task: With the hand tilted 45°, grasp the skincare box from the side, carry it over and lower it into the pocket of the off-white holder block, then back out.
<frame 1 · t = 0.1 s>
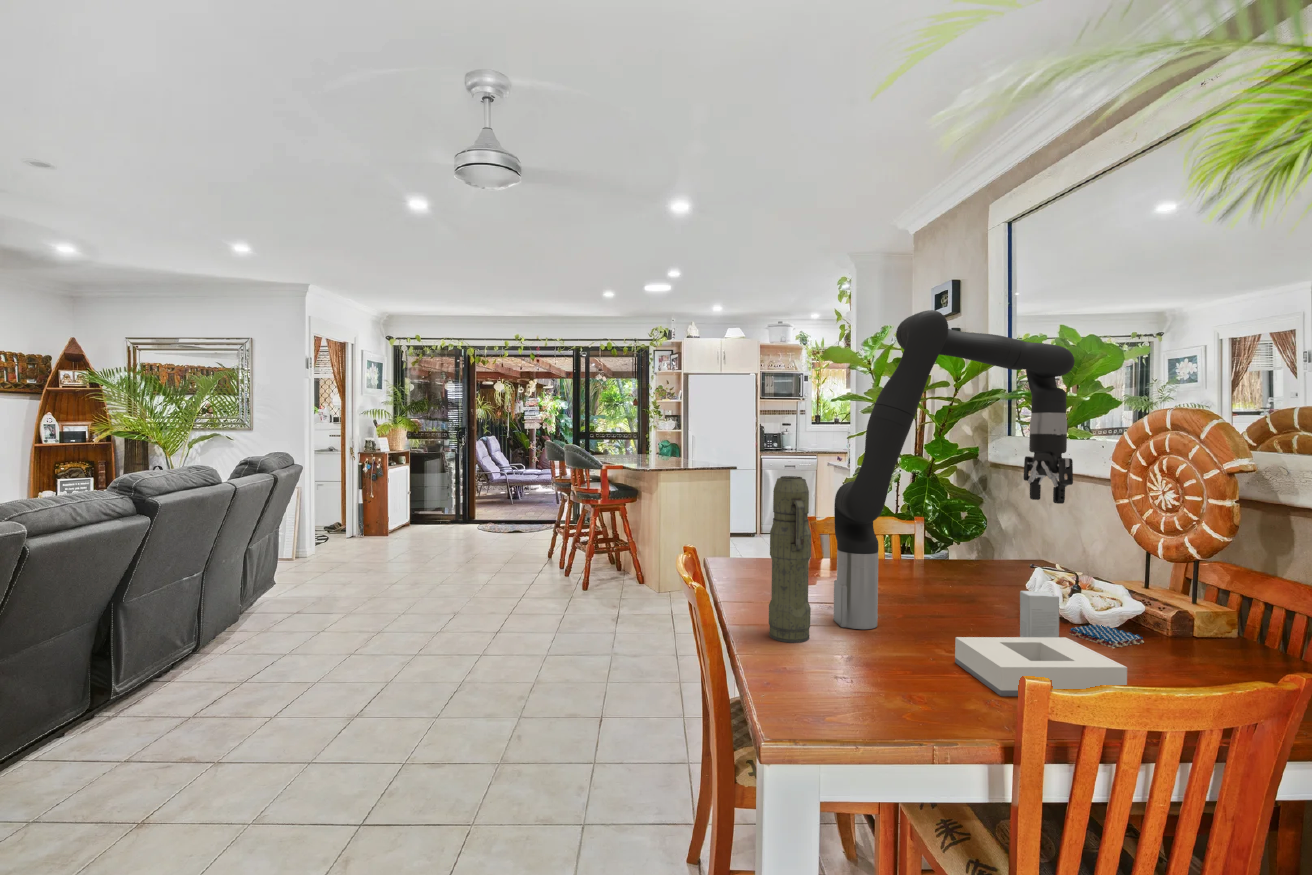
hand: (1046, 501, 152), 29 cm above the table, tool pointing down, fingers open, 8 cm apart
woven mat: (1105, 641, 143), on the table
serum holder: (1035, 678, 119), on the table
skincare box: (1038, 651, 134), on the table
thermos: (789, 637, 142), on the table
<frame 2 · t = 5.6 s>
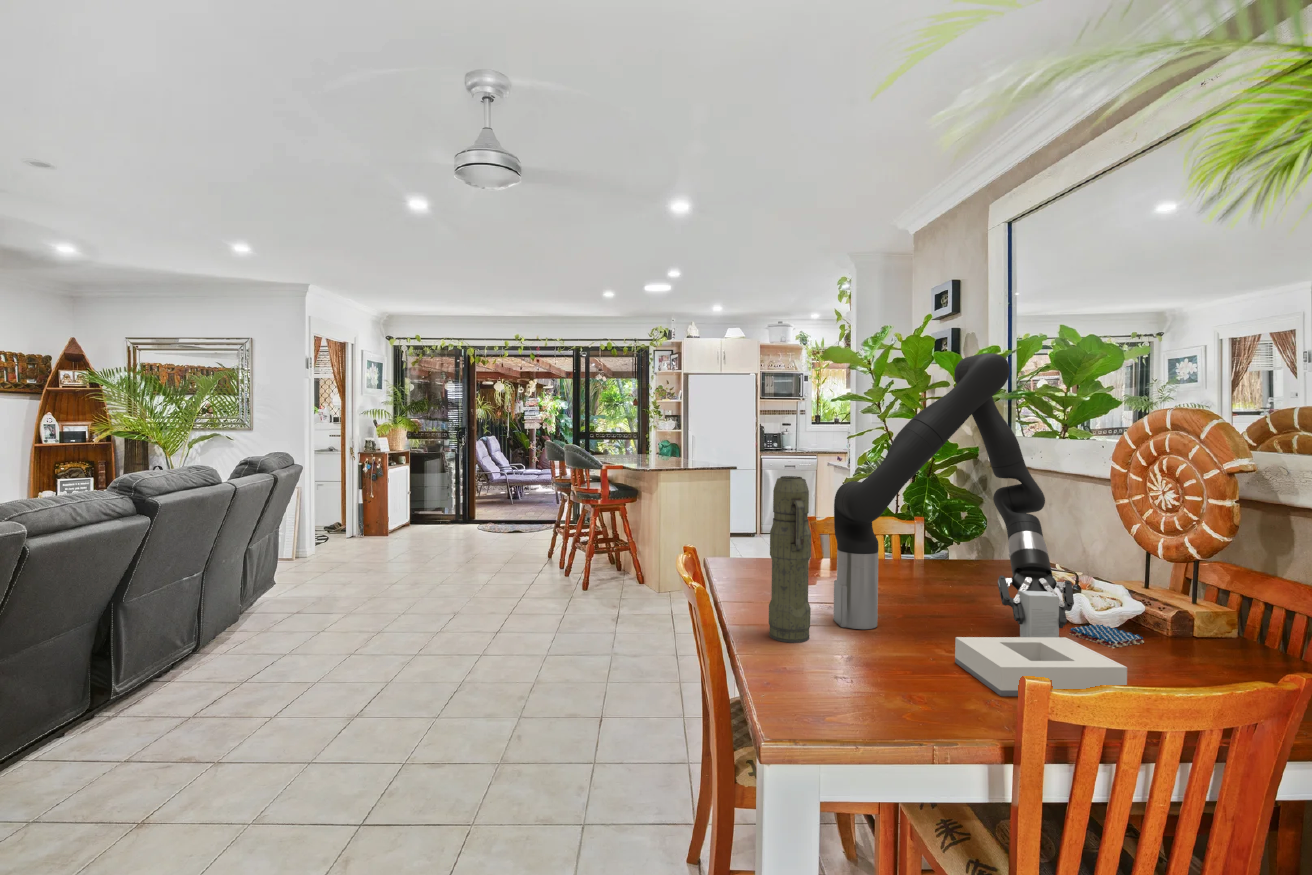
hand: (1041, 624, 133), 6 cm above the table, tool tilted 45°, fingers closed on skincare box, 6 cm apart
skincare box: (1038, 651, 134), on the table, touching gripper
everything else where it was.
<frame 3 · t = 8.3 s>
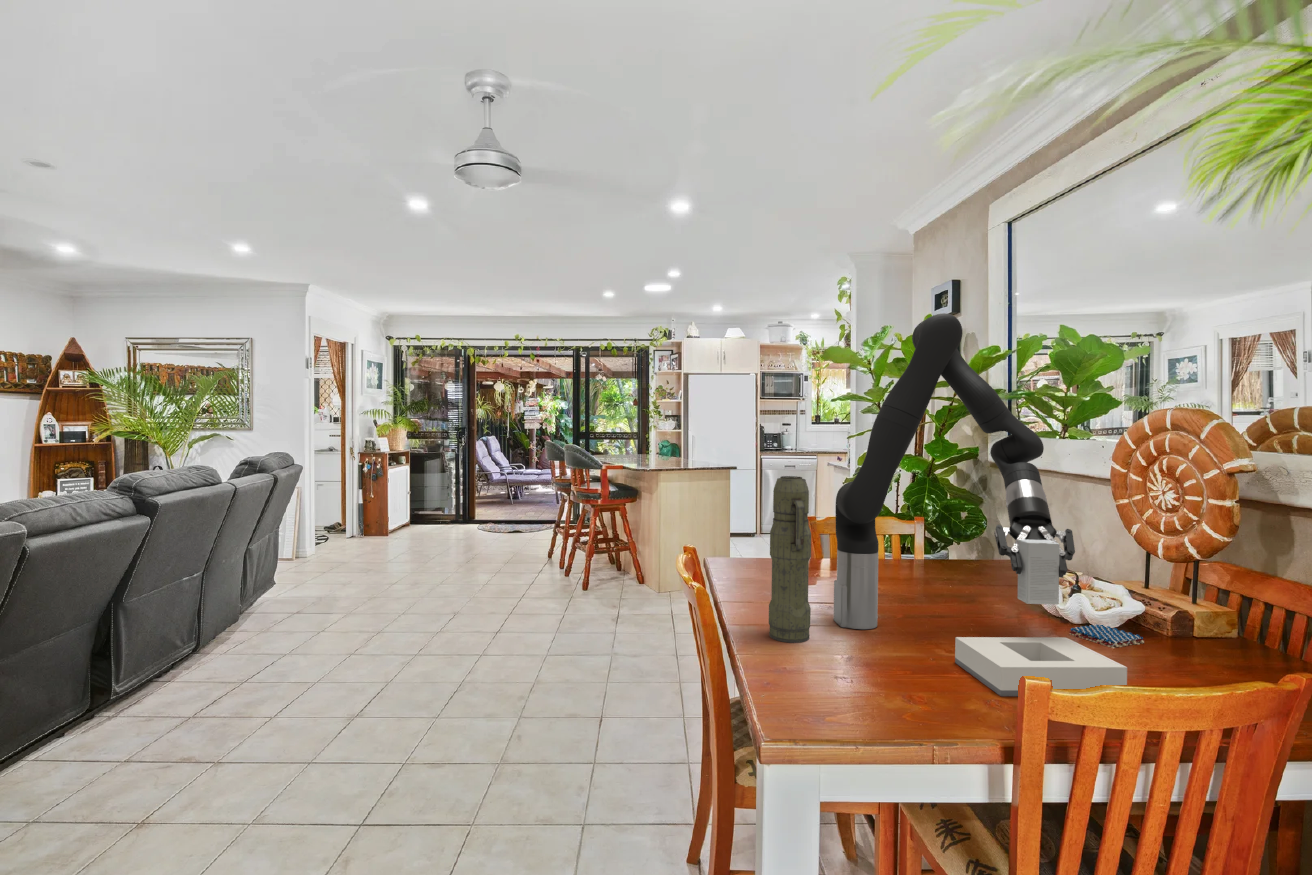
hand: (1040, 573, 125), 18 cm above the table, tool tilted 45°, fingers closed on skincare box, 6 cm apart
skincare box: (1037, 602, 127), point 12 cm above the table, touching gripper
everything else where it was.
when the fingers open (8 cm above the table, at t = 11.4 s): skincare box drops 1 cm, resting on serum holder.
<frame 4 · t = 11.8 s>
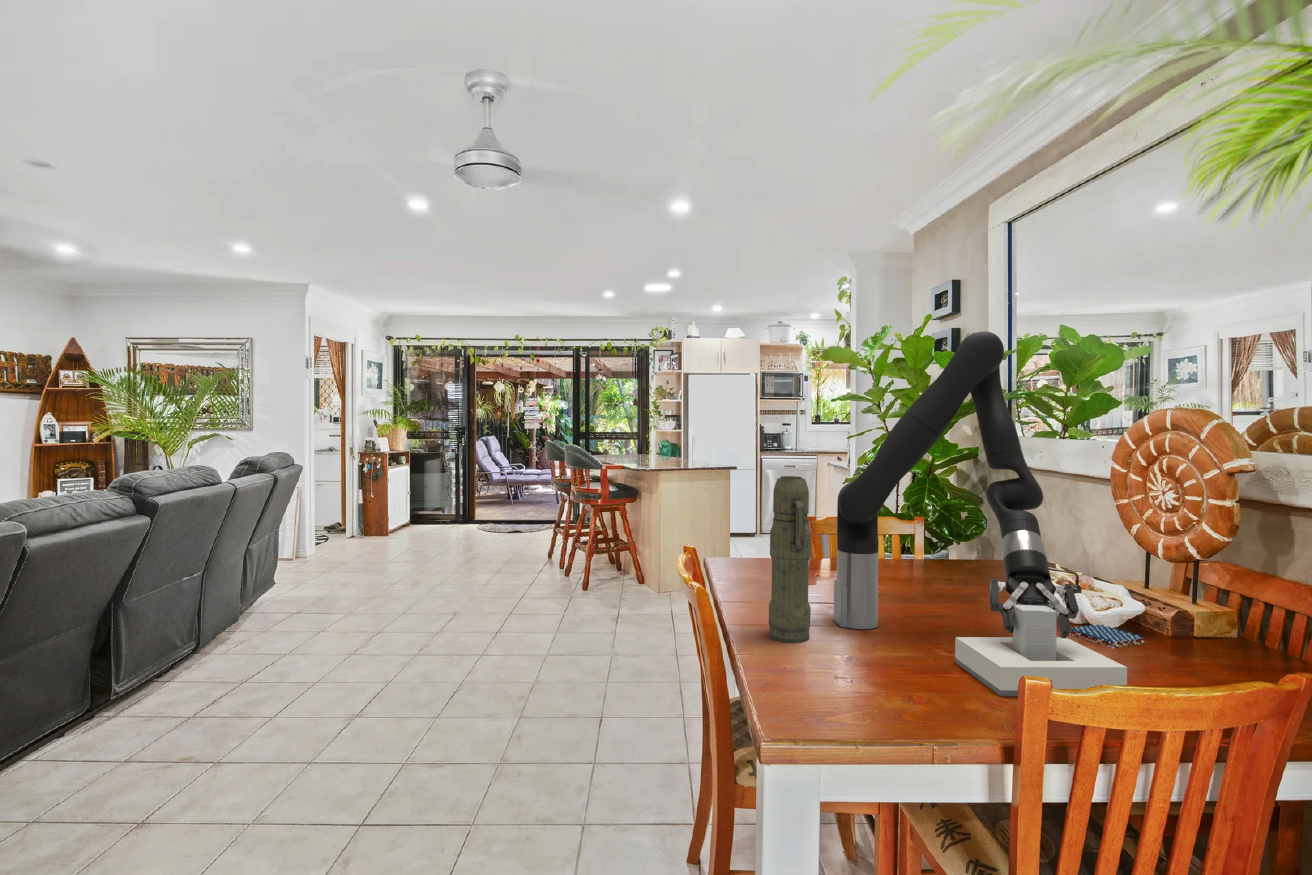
hand: (1037, 633, 118), 9 cm above the table, tool tilted 45°, fingers open, 8 cm apart
skincare box: (1033, 673, 119), point 1 cm above the table, touching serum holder
everything else where it was.
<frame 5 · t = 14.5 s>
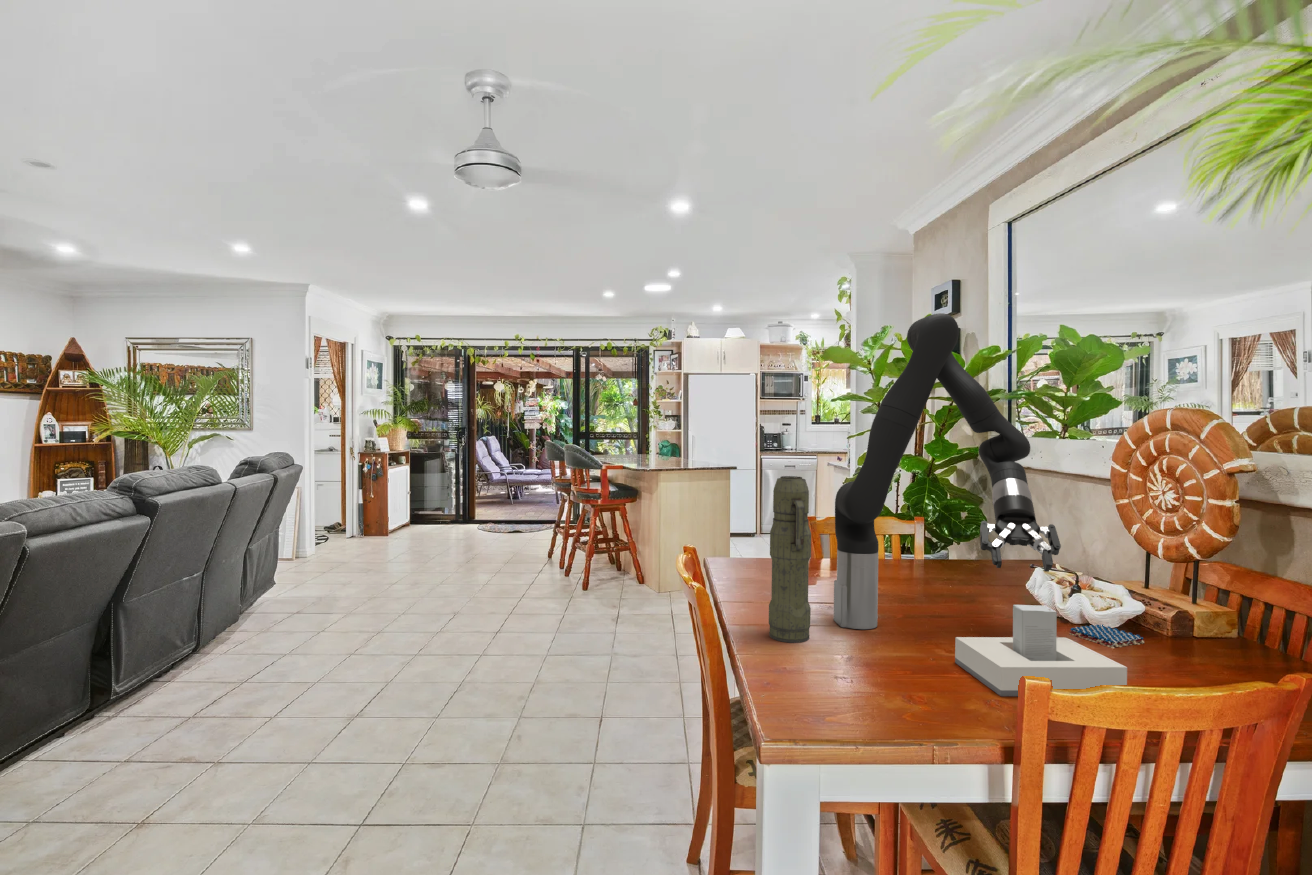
hand: (1023, 567, 129), 18 cm above the table, tool tilted 45°, fingers open, 8 cm apart
nothing on the table moved.
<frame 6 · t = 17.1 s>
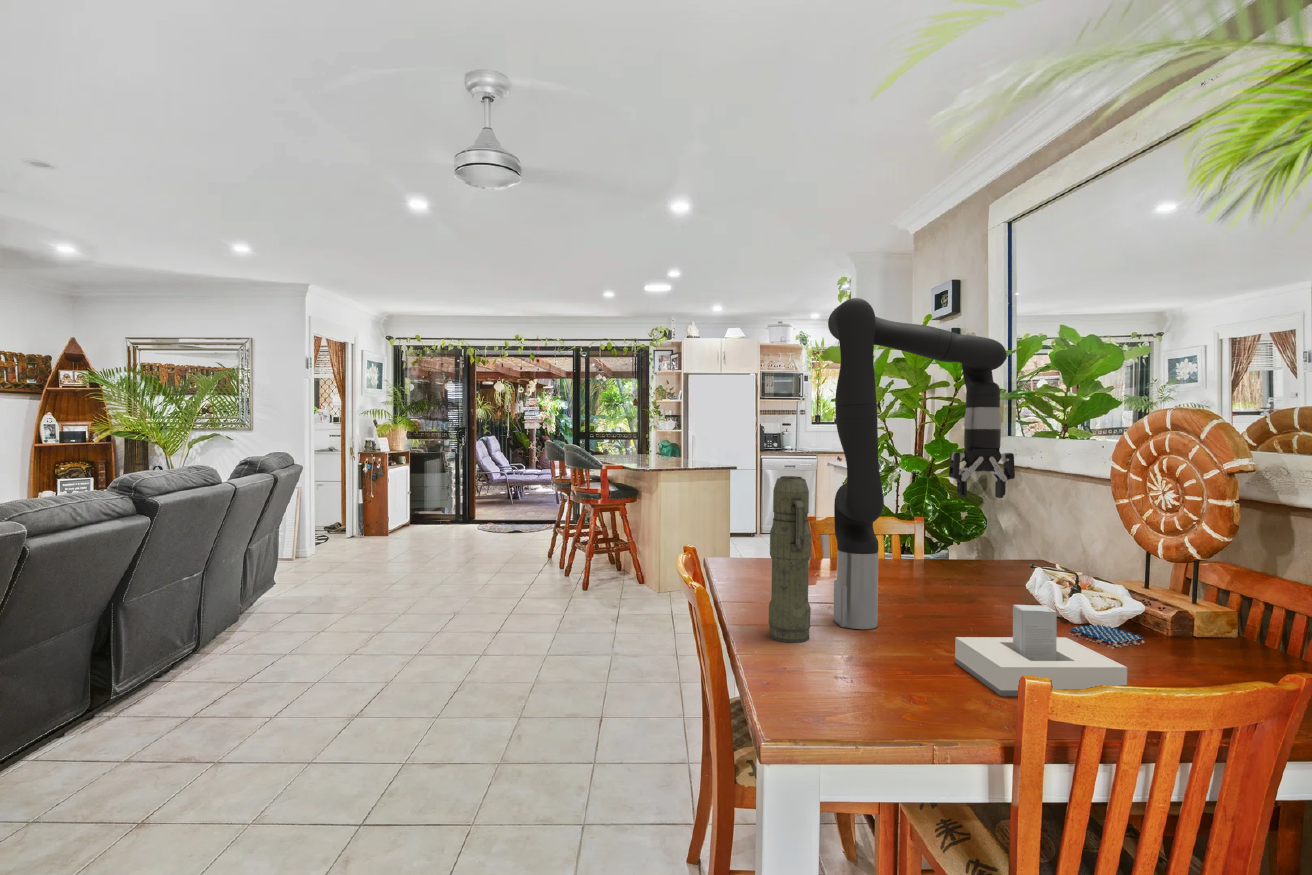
hand: (981, 497, 150), 30 cm above the table, tool pointing down, fingers open, 8 cm apart
nothing on the table moved.
at the end: skincare box 0.4 cm off-centre on the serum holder, point 0.8 cm above the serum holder's base; skincare box tilted 0°; the gripper is holding nothing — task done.
